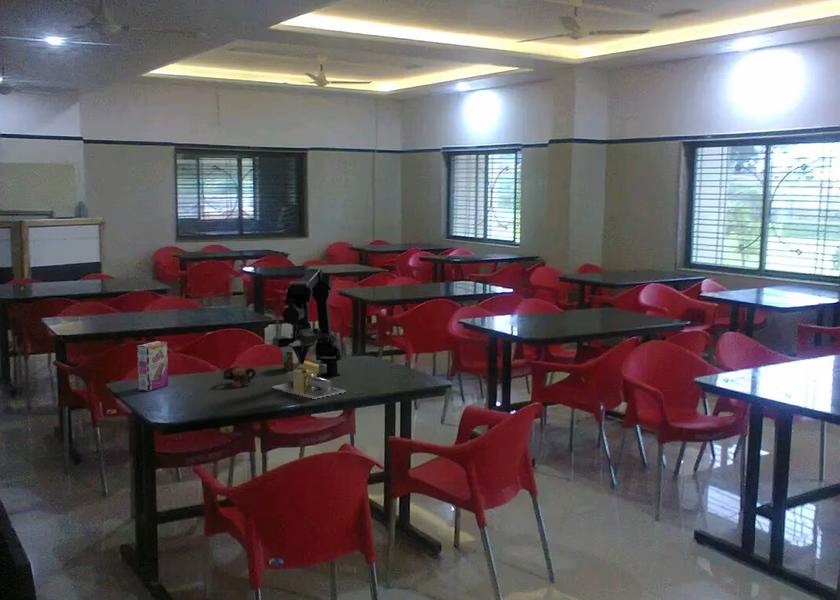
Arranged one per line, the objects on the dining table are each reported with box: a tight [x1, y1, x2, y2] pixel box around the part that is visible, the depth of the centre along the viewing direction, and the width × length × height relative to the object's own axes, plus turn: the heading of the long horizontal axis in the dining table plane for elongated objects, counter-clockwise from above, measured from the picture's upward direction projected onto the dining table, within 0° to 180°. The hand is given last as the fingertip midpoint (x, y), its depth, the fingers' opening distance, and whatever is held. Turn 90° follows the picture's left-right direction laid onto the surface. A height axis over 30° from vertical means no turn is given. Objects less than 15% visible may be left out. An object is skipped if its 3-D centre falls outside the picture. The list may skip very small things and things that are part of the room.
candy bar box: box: [136, 341, 169, 392], centre depth 307 cm, size 11×5×16 cm, turn 159°
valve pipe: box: [272, 368, 346, 400], centre depth 302 cm, size 24×14×8 cm, turn 46°
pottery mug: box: [222, 365, 257, 388], centre depth 313 cm, size 12×10×8 cm
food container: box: [280, 346, 300, 372], centre depth 339 cm, size 12×6×10 cm, turn 172°
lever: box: [299, 360, 327, 374], centre depth 299 cm, size 15×4×3 cm, turn 41°
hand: (301, 364), depth 293 cm, fingers closed
